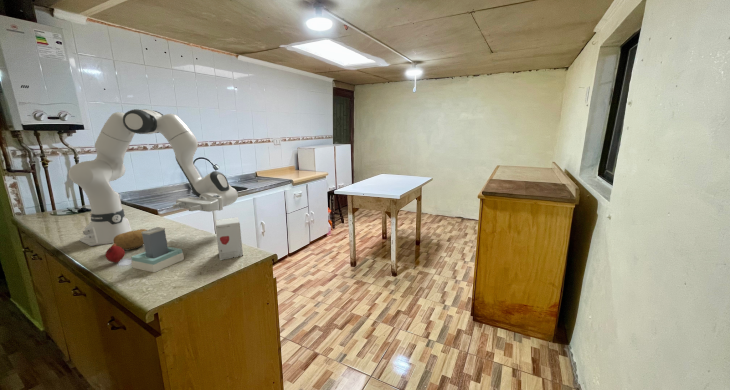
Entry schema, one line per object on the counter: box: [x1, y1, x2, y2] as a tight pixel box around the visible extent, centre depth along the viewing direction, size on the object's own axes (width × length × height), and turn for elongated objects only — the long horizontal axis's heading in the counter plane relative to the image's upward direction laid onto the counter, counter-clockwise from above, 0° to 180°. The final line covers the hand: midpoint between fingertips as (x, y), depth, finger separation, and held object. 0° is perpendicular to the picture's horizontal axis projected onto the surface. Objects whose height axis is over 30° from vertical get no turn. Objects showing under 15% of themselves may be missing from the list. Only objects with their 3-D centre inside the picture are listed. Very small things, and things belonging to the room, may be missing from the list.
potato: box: [113, 228, 147, 250], centre depth 131 cm, size 10×14×8 cm
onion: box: [105, 243, 126, 264], centre depth 115 cm, size 6×6×8 cm
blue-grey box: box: [141, 226, 169, 259], centre depth 113 cm, size 4×6×11 cm
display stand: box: [131, 246, 185, 273], centre depth 115 cm, size 12×12×4 cm
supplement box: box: [215, 216, 244, 261], centre depth 121 cm, size 9×9×15 cm
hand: (181, 208), depth 125 cm, fingers open, 8 cm apart
